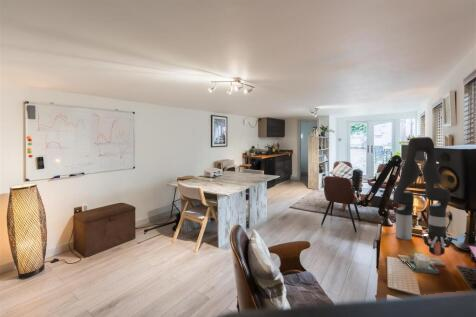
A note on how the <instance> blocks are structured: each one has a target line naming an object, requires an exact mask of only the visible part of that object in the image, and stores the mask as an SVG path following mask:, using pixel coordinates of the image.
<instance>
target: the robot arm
mask: <svg viewBox="0 0 476 317" xmlns="http://www.w3.org/2000/svg"><path fill="white" fill-rule="evenodd" d="M406 149H407V151H406V155H405V160H404V163H403V166H402V170H401V173H400V177H399V180H398V184H397V185H396V188H395V190H394V191H393V192H394V193H393V195H392V200H393V202H394V203H395V204H396V205H402V206H400V207H397V208H396V209H395V237H396V238H398V239H400V240H405V241H410V240H412V237H413V236H412V235H413V234H412V233H413V212H414V211H413V210H414V202H415V200H414V199H415V198H414V194H413V192H412V191H410V190H406V189H408V188H409V187H410V186H412V185H413V184H414V183H415V182H417V180H418V179H419V176H420V172H421V168H420V166H419V164H418V162H417V159H416V156H417V153H425V155H426V159H425V163H424V164H423V167H422V175H423V178H424V182H425V189H424V190H425V192H424V195H425V197H426V199H428V200H429V201H432V202H434V201H435V202H436V201H437V202H436V203H432V204H429V208H428V219H427V221H428V224H427V225H428V226H427V231H428V232H427V234H421V237H422V240H423V243H424V244H425V245H426V246H427V247H428V252H429V253H430V254H432V255H433V254H434V248H433V247H434V244H435V243H436V242H439V243H440V245H441V256H442V255H443V256H444V254H445V250H446V248H448V249H449V248H450V245H451V243H452V241H453V240H454V238H453V237H451V236H450V235H447V208H448V205H449V203H450V200H451V198H452V194H451V191H450V190H449V189H448V188H447V187H435V186H436V185H440V184H441V183H442V178H441V175H440V172H439V168H438V166H437V157H436V149H435V143H434V141H433V139H432V138H431V137H429V136H415V137H411V138H410V140H409V141H408V146H407V148H406ZM444 240H445V241H444Z"/></svg>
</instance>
